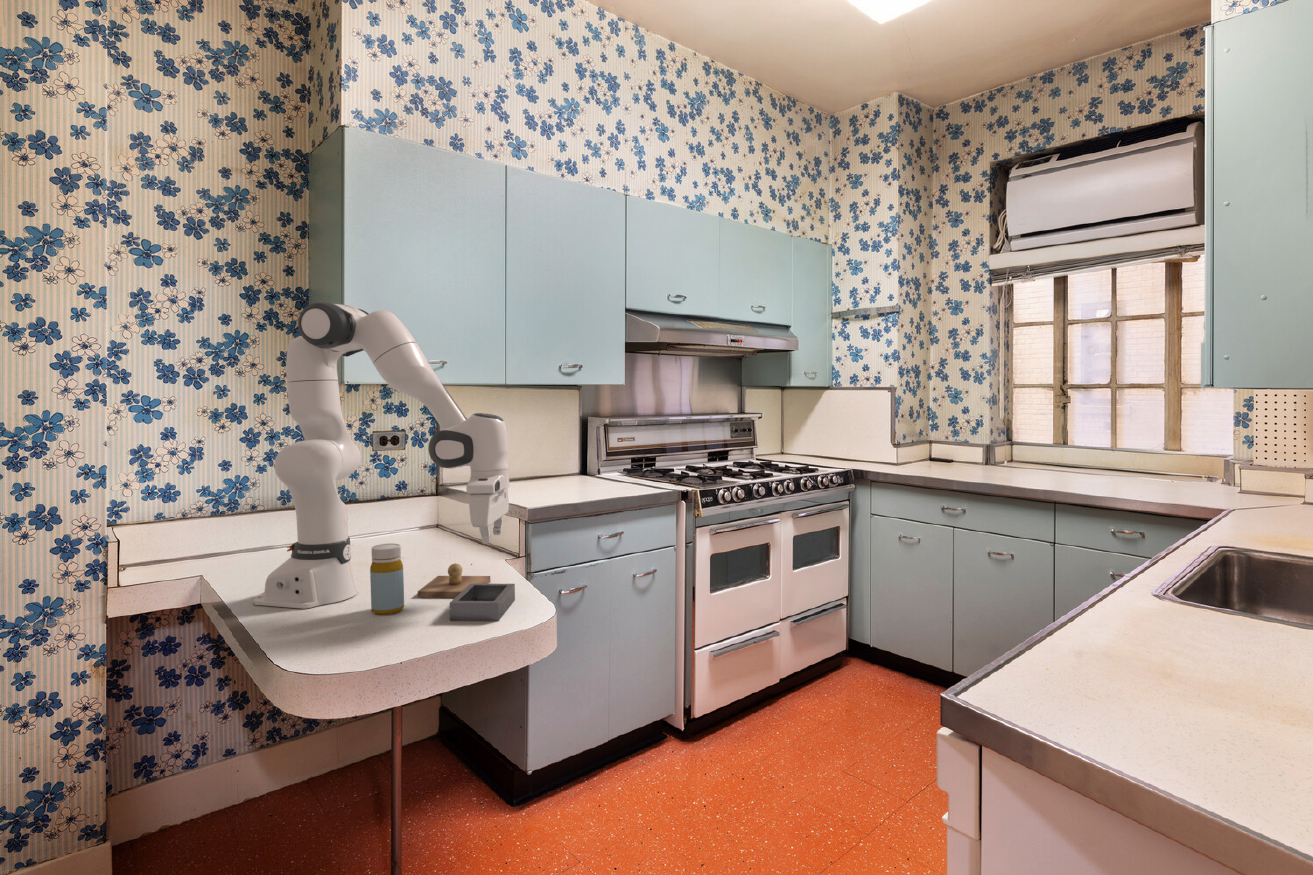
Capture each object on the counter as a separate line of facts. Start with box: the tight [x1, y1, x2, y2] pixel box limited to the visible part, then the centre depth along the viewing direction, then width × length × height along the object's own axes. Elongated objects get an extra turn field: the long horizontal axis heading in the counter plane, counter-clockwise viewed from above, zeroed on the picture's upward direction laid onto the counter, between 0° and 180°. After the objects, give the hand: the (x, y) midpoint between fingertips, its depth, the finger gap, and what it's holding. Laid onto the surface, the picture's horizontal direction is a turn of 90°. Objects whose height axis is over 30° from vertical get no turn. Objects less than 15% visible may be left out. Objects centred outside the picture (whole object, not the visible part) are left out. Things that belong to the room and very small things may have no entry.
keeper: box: [417, 562, 491, 599], centre depth 167 cm, size 14×14×7 cm
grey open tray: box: [449, 583, 516, 622], centre depth 151 cm, size 11×15×4 cm
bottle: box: [369, 543, 405, 616], centre depth 150 cm, size 7×7×15 cm
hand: (492, 538), depth 157 cm, fingers open, 8 cm apart
